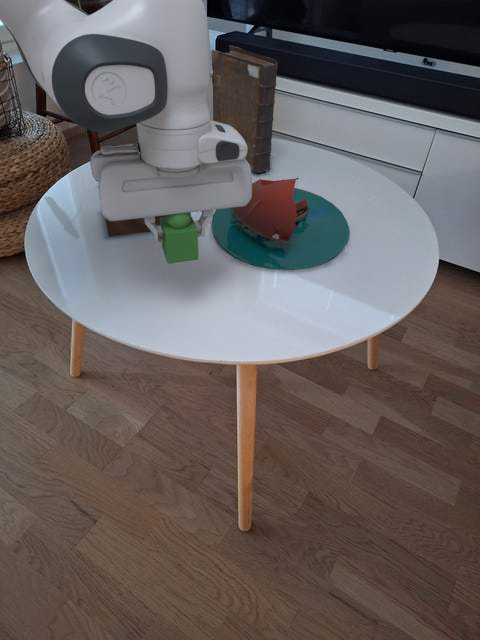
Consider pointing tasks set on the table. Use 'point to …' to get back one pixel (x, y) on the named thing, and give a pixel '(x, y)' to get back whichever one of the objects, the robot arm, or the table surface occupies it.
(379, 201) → the table surface
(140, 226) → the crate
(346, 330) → the table surface
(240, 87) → the book
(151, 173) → the robot arm
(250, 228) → the boat on round base
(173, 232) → the green toy
